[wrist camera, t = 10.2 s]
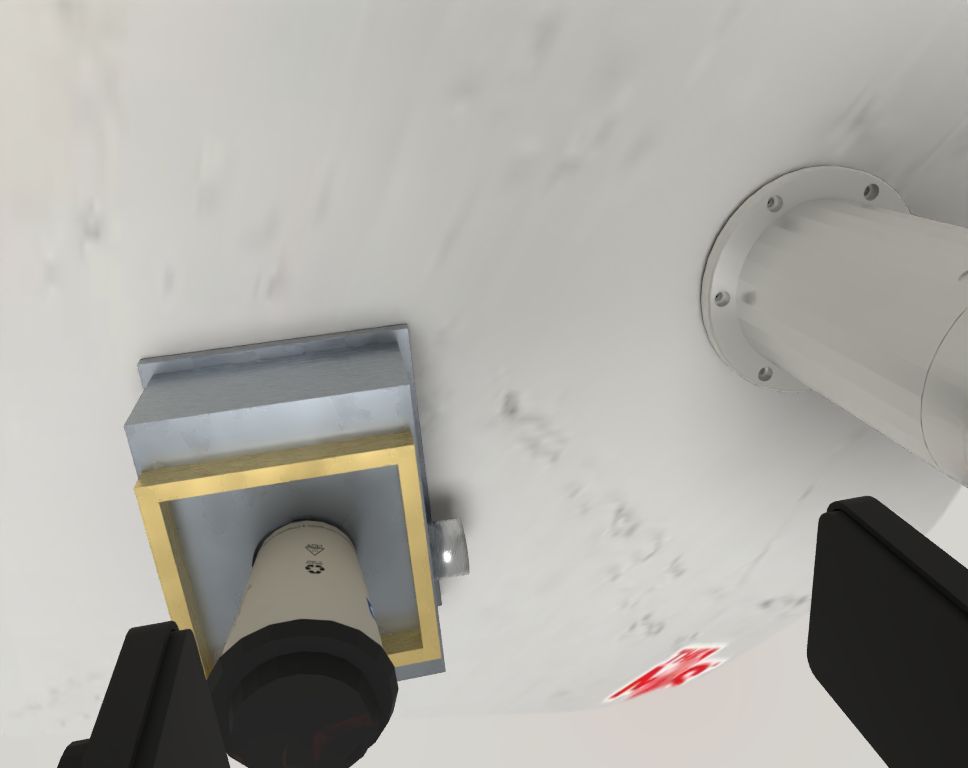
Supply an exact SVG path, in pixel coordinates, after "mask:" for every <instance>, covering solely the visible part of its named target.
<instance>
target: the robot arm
mask: <svg viewBox="0 0 968 768" xmlns="http://www.w3.org/2000/svg"><path fill="white" fill-rule="evenodd" d="M769 199H770V202H769V204H768V205H767V203H768V200H769ZM718 293H719V295H718V297H717V298H716V299H715V297H716V295H717V294H718ZM701 305H702V313H703V321H704V325H705V328H706V331H707V334H708V337H709V340H710V342H711V343H712V345H713V347H714V349H715V350H716V352H717V354H718V355H719V357H720V358H721V359H722V360H723V361H724V362H725V363H726V364H727V365H728V366H729V367H730V368H731V369H732V370H733V371H735V372H736V373H738V374H739V375H740V376H742V377H743V378H744V379H746V380H747V381H749V382H751V383H753V384H755V385H757V386H759V387H762V388H766V389H770V390H774V391H778V392H804V391H811V390H815V391H816V392H818V393H819V394H821V395H822V396H824V397H826V398H827V399H829V400H830V401H832V402H833V403H835V404H836V405H838V406H840V407H841V408H843V409H844V410H846V411H847V412H849V413H850V414H852V415H854V416H855V417H857V418H858V419H860V420H861V421H863V422H864V423H866V424H868V425H869V426H871V427H872V428H874V429H875V430H877V431H878V432H880V433H882V434H883V435H885V436H886V437H888V438H889V439H891V440H892V441H894V442H896V443H897V444H899V445H900V446H902V447H903V448H905V449H906V450H908V451H910V452H911V453H913V454H914V455H916V456H917V457H919V458H920V459H922V460H924V461H925V462H927V463H928V464H930V465H931V466H933V467H934V468H936V469H938V470H939V471H941V472H942V473H944V474H945V475H947V476H948V477H950V478H952V479H954V480H955V481H957V482H959V483H960V484H962V485H963V486H965V487H967V488H968V228H965V227H960V226H956V225H952V224H948V223H944V222H939V221H935V220H931V219H927V218H923V217H918V216H914V215H911V213H910V210H909V208H908V207H907V205H906V204H905V203H904V201H903V200H902V198H901V197H900V196H899V194H898V193H897V192H896V191H895V190H894V189H892V188H891V187H890V186H889V185H888V184H886V183H885V182H884V181H883V180H881V179H879V178H877V177H875V176H873V175H871V174H869V173H867V172H864V171H860V170H855V169H851V168H847V167H837V166H828V165H826V166H817V167H808V168H804V169H800V170H797V171H794V172H791V173H788V174H785V175H783V176H781V177H779V178H778V179H776V180H774V181H772V182H770V183H768V184H766V185H765V186H763V187H762V188H761V189H760V190H758V191H757V192H756V193H755V194H753V195H752V196H751V197H749V198H748V199H747V200H746V201H745V202H744V203H743V204H742V205H741V206H740V207H739V209H738V210H737V211H736V212H735V213H734V214H733V215H732V216H731V217H730V219H729V220H728V222H727V223H726V225H725V227H724V228H723V230H722V231H721V233H720V234H719V236H718V237H717V240H716V242H715V244H714V246H713V249H712V251H711V253H710V256H709V258H708V261H707V265H706V269H705V273H704V277H703V283H702V297H701ZM807 658H808V663H809V666H810V668H811V670H812V673H813V674H814V675H815V677H816V679H817V680H818V681H819V682H820V684H821V685H822V686H823V687H824V688H825V690H826V691H827V692H828V693H829V695H830V696H831V697H832V698H833V700H834V701H835V702H836V703H837V704H838V706H839V707H840V708H841V709H842V711H843V712H844V713H845V714H846V716H847V717H848V718H849V719H850V720H851V722H852V723H853V724H854V725H855V727H856V728H857V729H858V730H859V731H860V733H861V734H862V735H863V736H864V738H865V739H866V740H867V741H868V742H869V744H870V745H871V746H872V747H873V749H874V750H875V751H876V752H877V753H878V755H879V756H880V757H881V758H882V760H883V761H884V762H885V763H886V764H887V766H888V767H889V768H968V569H967V568H966V567H964V566H963V565H962V564H960V563H959V562H958V561H956V560H955V559H954V558H952V557H951V556H950V555H949V554H947V553H946V552H945V551H943V550H942V549H941V548H939V547H938V546H937V545H936V544H934V543H933V542H931V541H930V540H929V539H928V538H926V537H925V536H924V535H923V534H921V533H920V532H919V531H917V530H916V529H915V528H913V527H912V526H911V525H909V524H908V523H907V522H906V521H904V520H903V519H902V518H900V517H899V516H898V515H896V514H895V513H894V512H893V511H891V510H890V509H889V508H887V507H886V506H885V505H883V504H882V503H881V502H880V501H878V500H877V499H875V498H873V497H871V496H863V497H857V498H852V499H846V500H840V501H835V502H833V503H831V504H830V505H829V507H828V509H827V513H824V514H822V515H821V516H820V518H819V523H818V533H817V544H816V555H815V566H814V577H813V588H812V600H811V611H810V622H809V634H808V644H807ZM57 768H230V765H229V762H228V757H227V754H226V750H225V746H224V743H223V739H222V735H221V732H220V728H219V724H218V721H217V717H216V713H215V709H214V706H213V702H212V698H211V695H210V691H209V687H208V684H207V680H206V676H205V673H204V669H203V665H202V662H201V658H200V654H199V651H198V647H197V643H196V640H195V636H194V633H193V631H192V630H191V629H184V630H179V628H178V625H177V624H176V622H174V621H168V622H162V623H157V624H151V625H146V626H140V627H135V628H131V629H130V630H129V631H128V633H127V635H126V637H125V640H124V643H123V646H122V649H121V652H120V655H119V657H118V660H117V663H116V666H115V669H114V672H113V674H112V677H111V680H110V683H109V686H108V689H107V691H106V694H105V697H104V700H103V703H102V706H101V708H100V711H99V714H98V717H97V720H96V723H95V725H94V728H93V731H92V734H91V737H90V739H85V740H80V741H74V742H72V743H71V744H70V745H68V746H67V747H66V749H65V751H64V753H63V755H62V757H61V759H60V762H59V764H58V767H57Z"/></svg>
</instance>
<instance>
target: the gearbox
mask: <svg viewBox="0 0 968 768" xmlns="http://www.w3.org/2000/svg"><path fill="white" fill-rule="evenodd" d="M137 366H138V370H139V374H140V377H141V381H142V385H143V389H144V391H143V393H142V395H141V396H140V398H139V400H138V402H137V404H136V405H135V407H134V409H133V411H132V412H131V414H130V416H129V418H128V419H127V421H126V423H125V425H124V429H125V432H126V436H127V439H128V443H129V447H130V450H131V454H132V457H133V461H134V465H135V468H136V472H137V475H138V481H137V483H136V485H135V487H134V491H135V494H136V498H137V501H138V505H139V508H140V512H141V515H142V519H143V522H144V526H145V530H146V533H147V537H148V540H149V544H150V547H151V551H152V554H153V558H154V561H155V565H156V569H157V572H158V576H159V579H160V583H161V586H162V590H163V593H164V597H165V600H166V604H167V607H168V611H169V615H170V618H171V621H174V622H176V624H177V625H178V628H179V630H184V629H191V630H192V631H193V633H194V636H195V640H196V643H197V647H198V651H199V654H200V658H201V662H202V665H203V669H204V673H205V676H206V680H207V678H208V677H209V675H210V673H211V671H212V669H213V668H214V666H215V664H216V662H217V661H218V659H219V657H220V656H221V655H222V653H223V650H224V647H225V644H226V641H227V639H228V636H229V633H230V630H231V627H232V625H233V622H234V619H235V616H236V613H237V611H238V608H239V605H240V602H241V599H242V597H243V594H244V591H245V588H246V585H247V582H248V580H249V577H250V574H251V571H252V568H253V566H254V563H255V560H256V557H257V554H258V552H259V550H260V548H261V547H262V545H263V543H264V541H265V540H266V539H267V538H268V537H269V536H270V535H271V534H273V533H274V532H275V531H276V530H278V529H280V528H282V527H284V526H286V525H288V524H290V523H295V522H301V521H317V522H324V523H326V524H329V525H332V526H334V527H337V528H338V529H339V530H341V531H342V532H343V533H344V534H345V535H347V536H348V537H349V539H350V541H351V542H352V544H353V545H354V547H355V549H356V553H357V557H358V560H359V564H360V567H361V571H362V574H363V578H364V581H365V585H366V588H367V592H368V595H369V599H370V602H371V606H372V610H373V613H374V617H375V620H376V624H377V627H378V631H379V634H380V638H381V641H382V645H383V648H384V651H385V652H386V654H387V655H388V657H389V658H390V660H391V662H392V663H393V665H394V666H395V672H396V678H397V681H401V680H406V679H411V678H417V677H422V676H427V675H432V674H437V673H442V672H446V671H445V663H444V655H443V647H442V639H441V631H440V623H439V615H438V607H437V606H441V605H442V602H441V594H440V586H439V579H445V578H450V577H456V576H461V575H467V574H469V559H468V552H467V545H466V539H465V534H464V529H463V525H462V522H461V519H460V518H455V519H449V520H443V521H437V522H432V521H431V513H430V505H429V497H428V489H427V481H426V473H425V464H424V456H423V448H422V440H421V432H420V424H419V416H418V408H417V400H416V391H415V383H414V375H413V367H412V359H411V351H410V343H409V335H408V328H407V325H406V324H401V325H394V326H386V327H379V328H371V329H364V330H356V331H349V332H342V333H334V334H327V335H319V336H312V337H304V338H297V339H289V340H282V341H274V342H267V343H259V344H252V345H244V346H237V347H229V348H222V349H215V350H207V351H200V352H192V353H185V354H177V355H170V356H162V357H155V358H147V359H141V360H140V361H139V363H138V364H137Z"/></svg>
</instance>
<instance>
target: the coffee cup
mask: <svg viewBox="0 0 968 768" xmlns="http://www.w3.org/2000/svg"><path fill="white" fill-rule="evenodd" d="M207 684H208V687H209V691H210V695H211V698H212V702H213V706H214V709H215V713H216V717H217V721H218V724H219V728H220V732H221V735H222V739H223V743H224V746H225V750H226V753H227V754H228V755H229V756H230V757H231V758H233V759H235V760H236V761H238V762H240V763H241V764H243V765H245V766H246V767H248V768H349V767H350V766H352V765H353V764H354V763H355V762H357V761H358V760H359V759H360V758H362V757H363V756H364V754H365V753H366V751H367V749H368V748H369V747H370V746H372V745H373V744H374V743H375V742H376V740H377V739H378V737H379V736H380V734H381V733H382V731H383V730H384V728H385V727H386V725H387V724H388V722H389V720H390V717H391V715H392V713H393V710H394V706H395V702H396V697H397V693H398V684H397V678H396V672H395V666H394V665H393V663H392V662H391V660H390V658H389V657H388V655H387V654H386V652H385V651H384V648H383V645H382V641H381V638H380V634H379V631H378V627H377V624H376V620H375V617H374V613H373V610H372V606H371V602H370V599H369V595H368V592H367V588H366V585H365V581H364V578H363V574H362V571H361V567H360V564H359V560H358V557H357V553H356V549H355V547H354V545H353V544H352V542H351V541H350V539H349V537H348V536H347V535H345V534H344V533H343V532H342V531H341V530H339V529H338V528H337V527H334V526H332V525H329V524H326V523H324V522H317V521H301V522H295V523H290V524H288V525H286V526H284V527H282V528H280V529H278V530H276V531H275V532H274V533H273V534H271V535H270V536H269V537H268V538H267V539H266V540H265V541H264V543H263V545H262V547H261V548H260V550H259V552H258V554H257V557H256V560H255V563H254V566H253V568H252V571H251V574H250V577H249V580H248V582H247V585H246V588H245V591H244V594H243V597H242V599H241V602H240V605H239V608H238V611H237V613H236V616H235V619H234V622H233V625H232V627H231V630H230V633H229V636H228V639H227V641H226V644H225V647H224V650H223V653H222V655H221V656H220V657H219V659H218V661H217V662H216V664H215V666H214V668H213V669H212V671H211V673H210V675H209V677H208V678H207Z"/></svg>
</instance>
